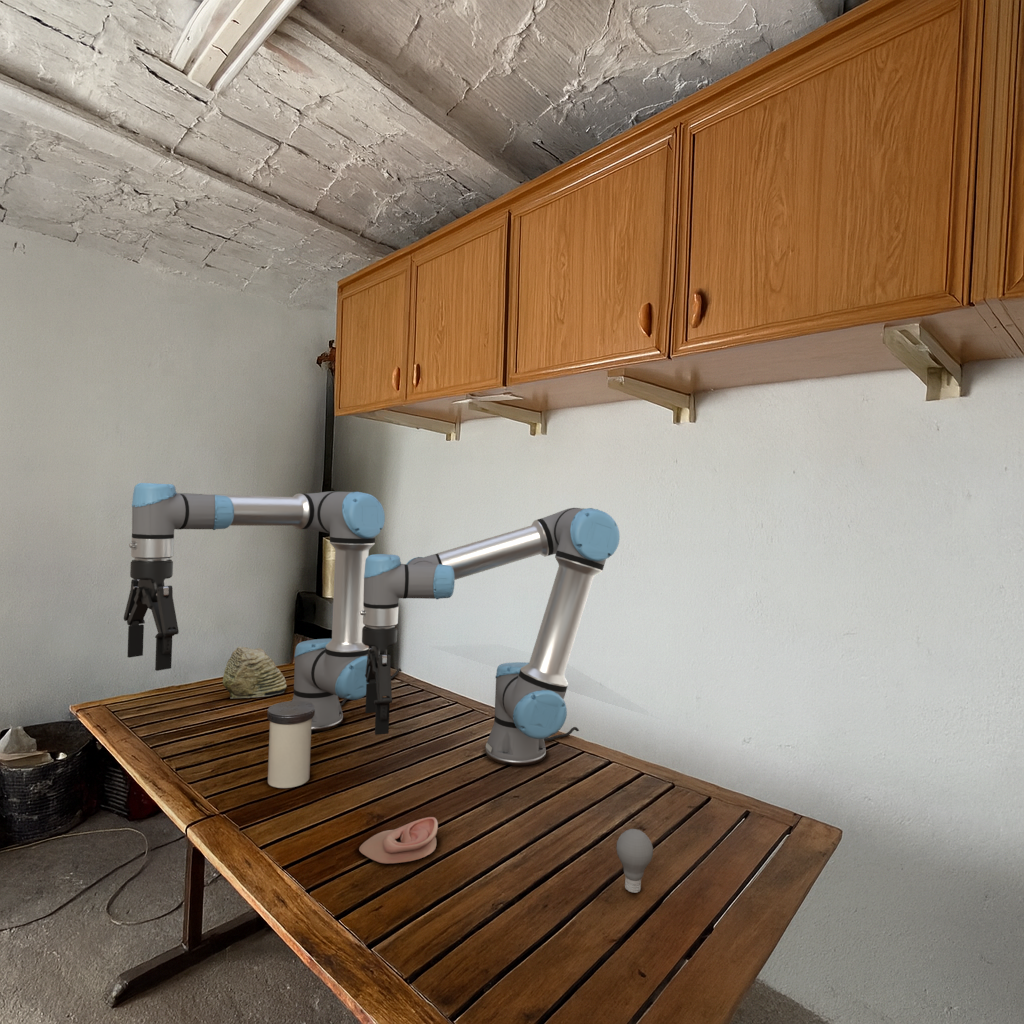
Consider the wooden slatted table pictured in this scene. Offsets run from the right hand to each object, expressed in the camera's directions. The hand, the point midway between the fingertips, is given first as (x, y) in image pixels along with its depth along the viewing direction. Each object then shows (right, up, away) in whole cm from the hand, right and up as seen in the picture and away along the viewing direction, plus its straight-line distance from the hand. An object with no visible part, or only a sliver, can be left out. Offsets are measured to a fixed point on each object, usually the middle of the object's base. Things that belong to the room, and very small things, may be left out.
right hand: (376, 722), depth 138 cm
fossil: (-51, -11, +60) cm, 80 cm away
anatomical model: (+9, -15, -23) cm, 29 cm away
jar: (-20, -14, +3) cm, 25 cm away
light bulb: (+50, -17, -32) cm, 62 cm away
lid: (-20, +2, +3) cm, 20 cm away
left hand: (-45, +15, -9) cm, 48 cm away
